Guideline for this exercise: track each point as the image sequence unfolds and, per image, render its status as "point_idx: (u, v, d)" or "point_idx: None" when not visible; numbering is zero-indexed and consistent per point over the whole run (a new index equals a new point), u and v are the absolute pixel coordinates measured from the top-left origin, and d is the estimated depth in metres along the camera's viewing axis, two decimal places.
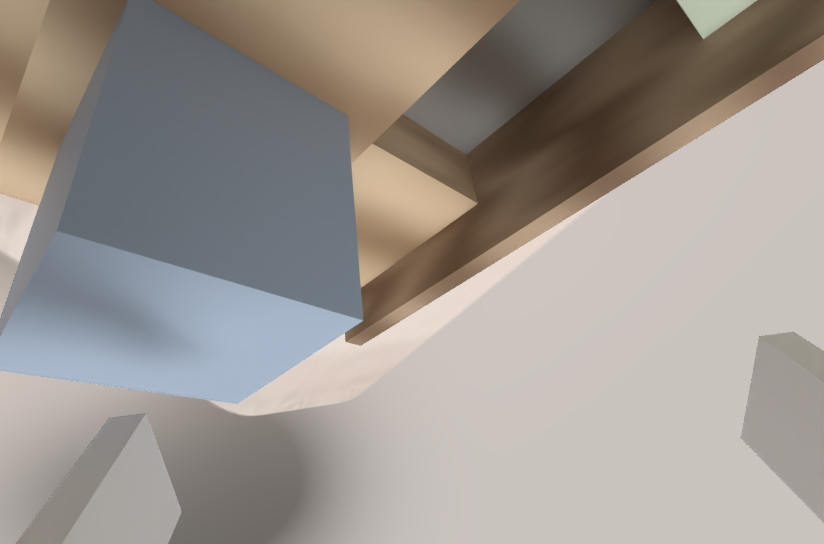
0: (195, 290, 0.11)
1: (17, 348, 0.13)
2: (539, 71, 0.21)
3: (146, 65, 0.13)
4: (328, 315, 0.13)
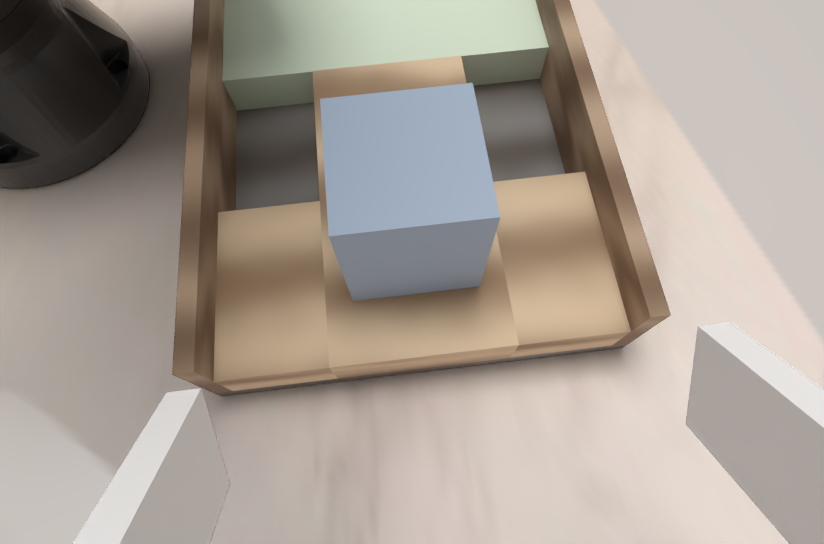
0: (383, 104, 0.23)
1: (337, 200, 0.21)
2: (540, 136, 0.36)
3: None
4: (453, 89, 0.23)
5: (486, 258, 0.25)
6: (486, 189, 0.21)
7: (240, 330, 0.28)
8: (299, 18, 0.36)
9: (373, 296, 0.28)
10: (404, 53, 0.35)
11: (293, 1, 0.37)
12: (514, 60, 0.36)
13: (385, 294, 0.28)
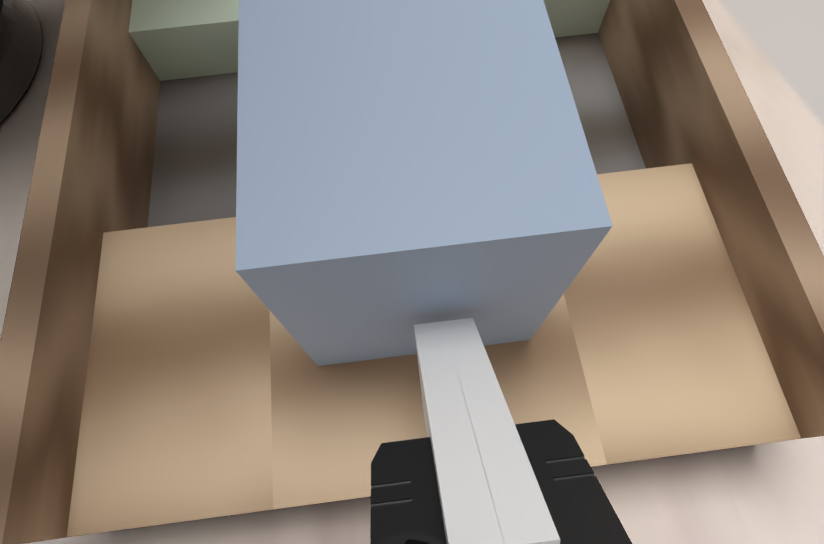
0: (362, 7, 0.12)
1: (258, 192, 0.10)
2: (605, 114, 0.24)
3: None
4: None
5: (555, 301, 0.13)
6: (576, 167, 0.10)
7: (122, 439, 0.16)
8: None
9: (350, 359, 0.16)
10: None
11: None
12: (565, 2, 0.24)
13: (372, 355, 0.16)
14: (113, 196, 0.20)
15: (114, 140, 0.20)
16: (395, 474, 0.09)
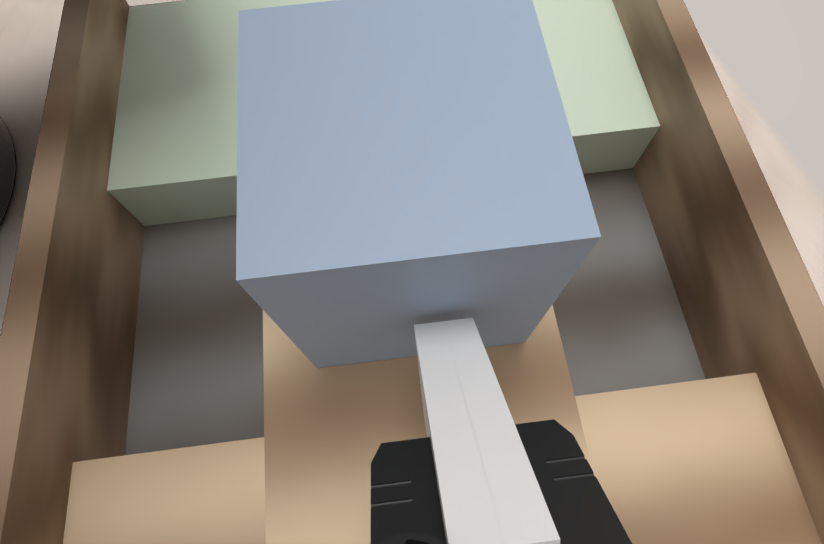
0: (359, 19, 0.12)
1: (258, 203, 0.10)
2: (644, 271, 0.21)
3: None
4: None
5: (548, 306, 0.14)
6: (567, 179, 0.10)
7: None
8: None
9: (349, 361, 0.17)
10: None
11: (235, 48, 0.23)
12: (599, 146, 0.21)
13: (369, 357, 0.17)
14: (86, 407, 0.17)
15: (88, 335, 0.18)
16: (395, 474, 0.09)
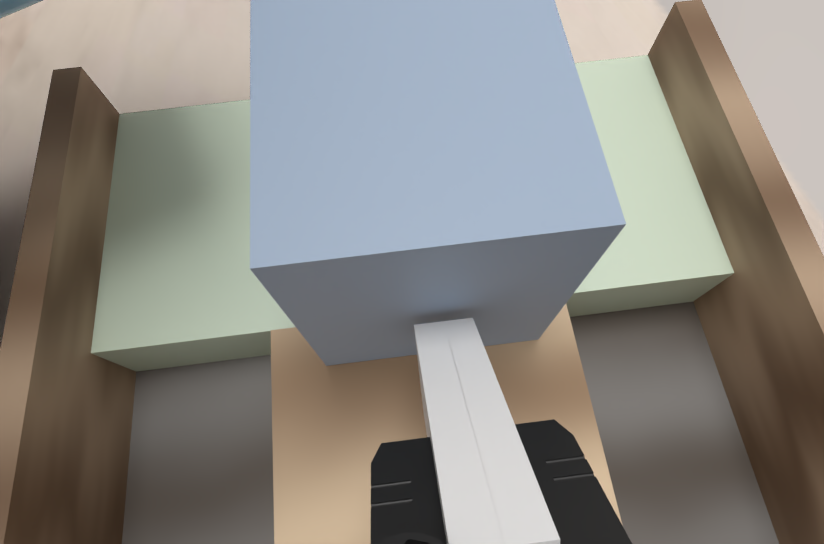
0: (373, 6, 0.12)
1: (272, 191, 0.10)
2: (712, 435, 0.19)
3: None
4: None
5: (565, 300, 0.13)
6: (589, 165, 0.10)
7: None
8: (248, 207, 0.19)
9: (359, 358, 0.16)
10: None
11: (240, 169, 0.20)
12: (660, 290, 0.19)
13: (380, 355, 0.16)
14: None
15: None
16: (395, 474, 0.09)
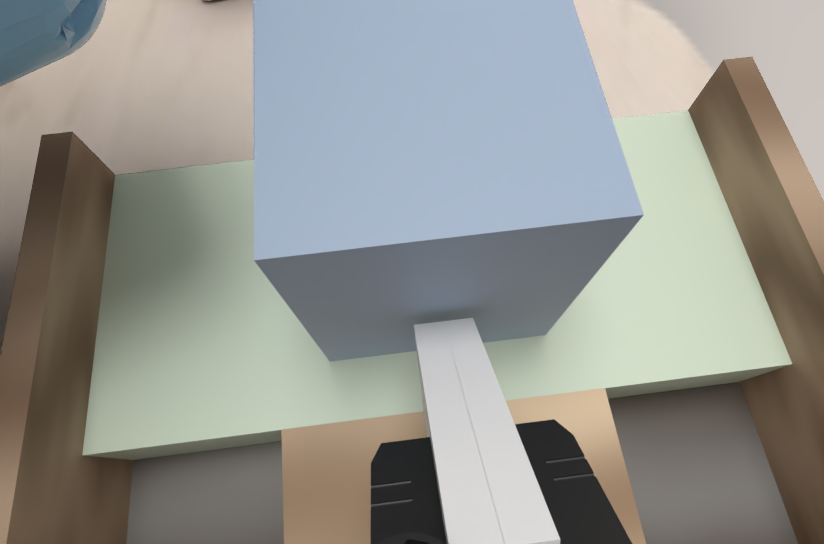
0: None
1: (277, 180, 0.10)
2: (765, 538, 0.17)
3: None
4: None
5: (575, 294, 0.13)
6: (605, 154, 0.10)
7: None
8: (256, 283, 0.18)
9: (363, 353, 0.16)
10: None
11: (246, 239, 0.18)
12: (708, 378, 0.17)
13: (385, 350, 0.16)
14: None
15: None
16: (395, 474, 0.09)
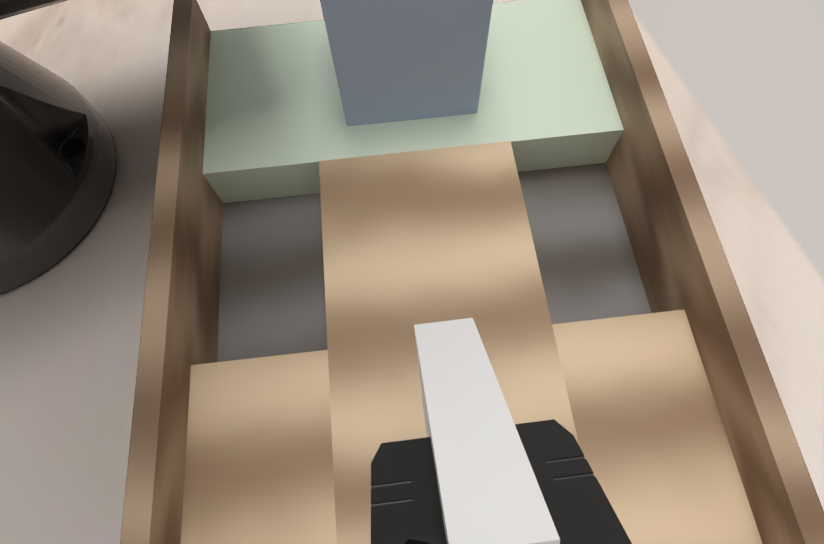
0: None
1: None
2: (611, 242, 0.28)
3: None
4: None
5: (483, 58, 0.24)
6: None
7: None
8: (302, 89, 0.29)
9: (367, 118, 0.27)
10: (437, 137, 0.27)
11: (295, 66, 0.29)
12: (577, 145, 0.28)
13: (380, 116, 0.27)
14: (196, 329, 0.24)
15: (195, 278, 0.24)
16: (395, 474, 0.09)
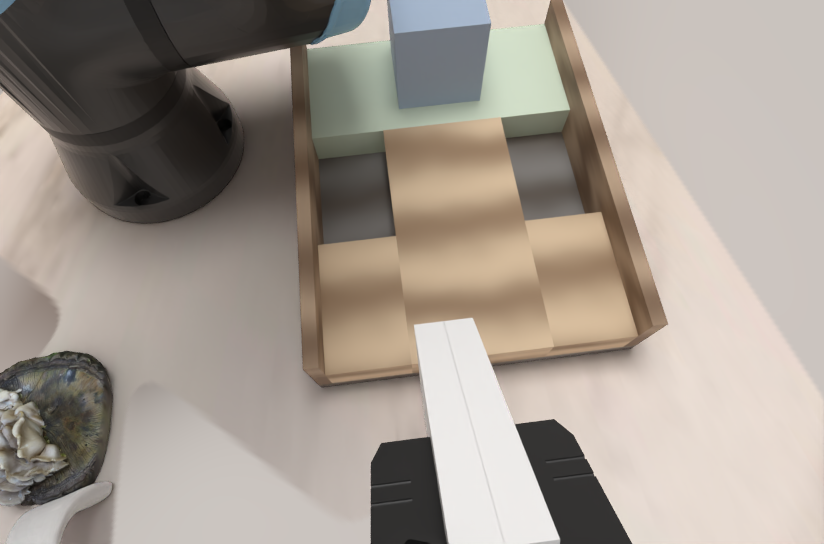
0: None
1: (397, 16, 0.37)
2: (563, 180, 0.45)
3: None
4: None
5: (483, 67, 0.41)
6: (483, 10, 0.38)
7: (342, 336, 0.37)
8: (369, 86, 0.45)
9: (412, 104, 0.44)
10: (455, 115, 0.44)
11: (363, 71, 0.46)
12: (542, 119, 0.45)
13: (420, 102, 0.44)
14: (317, 227, 0.40)
15: (315, 198, 0.41)
16: (395, 474, 0.09)
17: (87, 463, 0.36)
